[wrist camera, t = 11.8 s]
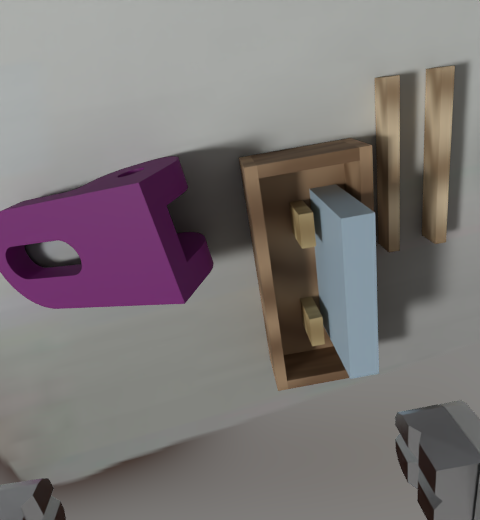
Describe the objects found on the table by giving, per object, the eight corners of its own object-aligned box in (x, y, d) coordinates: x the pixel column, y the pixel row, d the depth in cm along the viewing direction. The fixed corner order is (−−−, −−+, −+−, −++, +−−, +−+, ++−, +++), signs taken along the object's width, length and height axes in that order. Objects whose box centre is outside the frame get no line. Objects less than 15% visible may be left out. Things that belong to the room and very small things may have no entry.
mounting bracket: (81, 266, 44) (226, 252, 37) (22, 309, 38) (184, 304, 30) (42, 184, 41) (195, 150, 33) (-32, 216, 34) (138, 182, 26)
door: (309, 188, 36) (341, 218, 28) (339, 183, 36) (379, 211, 28) (321, 321, 42) (350, 378, 33) (346, 316, 42) (382, 372, 33)
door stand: (374, 78, 34) (387, 77, 31) (437, 67, 34) (454, 65, 31) (378, 242, 40) (389, 252, 37) (431, 233, 40) (445, 242, 37)
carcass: (238, 157, 35) (243, 167, 31) (350, 137, 35) (372, 145, 31) (270, 359, 44) (278, 390, 40) (359, 342, 44) (377, 372, 40)
